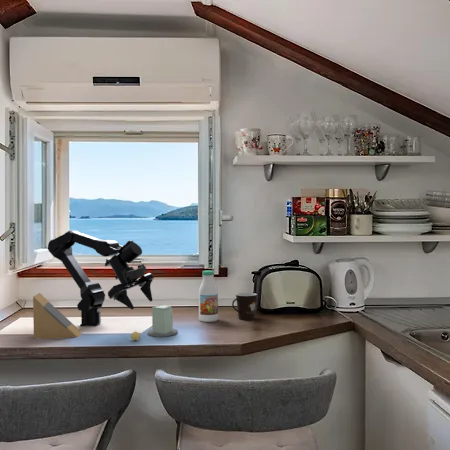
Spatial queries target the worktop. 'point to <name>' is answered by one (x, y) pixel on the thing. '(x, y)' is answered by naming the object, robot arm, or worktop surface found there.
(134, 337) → the mustard ball
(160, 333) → the coaster
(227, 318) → the worktop surface
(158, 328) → the pale green block
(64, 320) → the sandwich container
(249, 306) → the coffee mug
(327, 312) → the worktop surface
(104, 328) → the worktop surface
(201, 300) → the milk bottle
